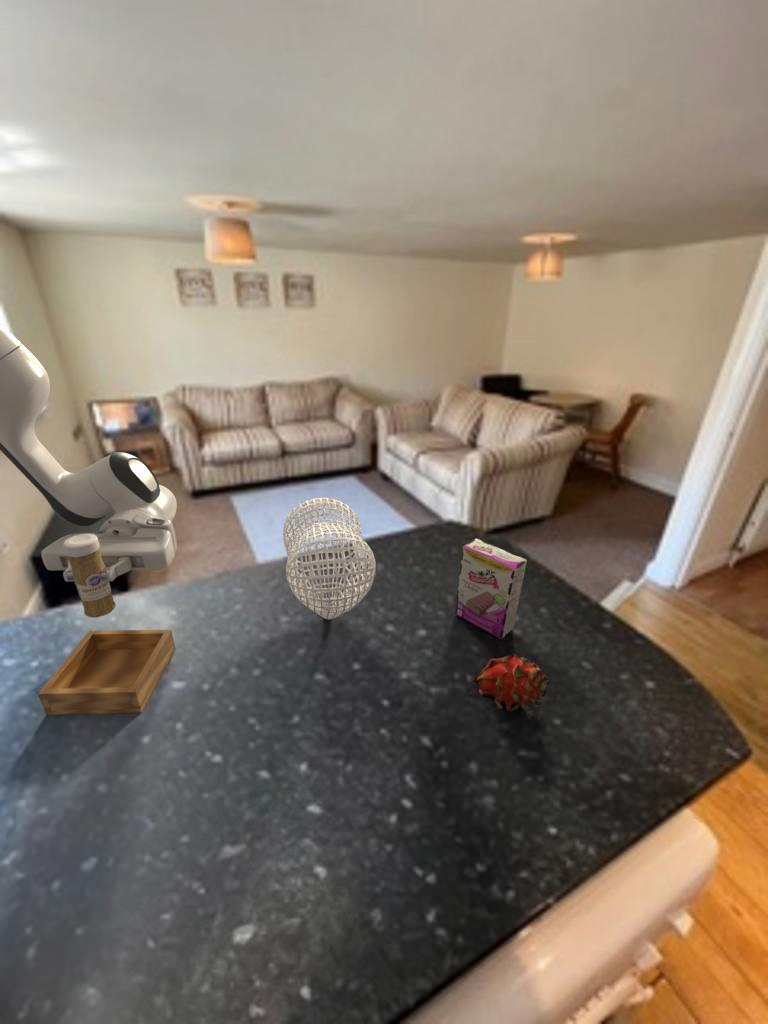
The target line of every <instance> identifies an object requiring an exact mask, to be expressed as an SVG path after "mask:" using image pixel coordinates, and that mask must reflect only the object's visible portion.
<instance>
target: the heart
mask: <svg viewBox="0 0 768 1024" xmlns="http://www.w3.org/2000/svg"><path fill="white" fill-rule="evenodd" d="M326 504H327V505H326ZM326 510H328V513H326ZM320 511H322V513H320ZM333 511H334V513H333ZM314 512H315V514H314ZM339 513H340V515H339ZM308 514H309V515H308ZM298 516H299V517H298ZM345 516H346V517H347V518H346V517H345ZM320 517H323V518H321V519H320ZM326 517H329V518H326ZM314 518H317V520H315V519H314ZM333 518H334V519H333ZM293 520H294V521H293ZM310 520H311V522H309V521H310ZM333 522H335V523H333ZM304 524H305V525H304ZM282 536H283V537H282V540H283V545H284V547H285V551H286V555H287V559H286V565H285V576H286V580H287V584H288V586H289V588H290V591H291V592H292V593H293V595H294V596H295V598H296V599H297V600H298V601H299V602H300V603H301V604H302V605H304V606H305V607H306V608H308V610H311V611H312V612H314V613H315V614H317V615H318V616H320V617H321V618H323V619H325V620H333V619H336V618H338V617H339V616H341V615H342V614H345V613H347V612H349V611H350V610H352V609H353V608H355V607H356V606H357V605H358V604H359V603H360V602H361V601H362V600H363V599H364V598H365V596H366V595H367V594H368V593H369V592H370V590H371V589H372V586H373V584H374V581H375V577H376V572H377V571H376V570H377V567H376V566H377V564H376V563H377V562H376V558H375V555H374V552H373V550H372V549H371V546H369V545H368V543H367V542H366V541H365V540H364V539H363V538H362V526H361V522H360V519H359V516H358V515H357V514H356V512H355V511H354V510H353V508H351V507H350V506H349V505H348V504H346V503H345V502H342V501H341V500H339V499H336V498H331V497H315V498H314V497H313V498H311V499H307V500H304V501H303V502H300V503H299V504H297V505H296V506H295V507H294V508H293V509H292V510H291V511H290V512H289V513H288V515H287V516H286V518H285V520H284V524H283V527H282ZM327 536H329V537H330V538H327ZM333 536H335V537H333ZM317 538H318V540H317ZM312 539H313V541H311V540H312ZM350 544H351V545H350ZM322 545H323V547H322ZM328 545H331V547H330V548H328V547H329V546H328ZM335 545H336V547H335ZM345 545H346V546H345ZM312 546H313V548H314V550H312V549H311V547H312ZM318 546H319V547H318ZM306 548H307V549H306ZM303 551H304V552H303ZM346 552H347V553H348V555H346ZM323 554H324V555H325V559H324V557H323ZM329 554H332V555H331V556H332V558H330V557H329ZM336 554H337V557H336ZM353 554H354V555H353ZM313 555H314V556H315V560H313V558H312V557H313ZM340 555H341V558H340ZM352 555H353V556H352ZM303 557H304V558H303ZM320 557H321V559H320ZM304 559H305V561H304ZM324 565H326V566H324ZM330 565H332V566H330ZM337 565H338V566H337ZM314 566H316V567H315V568H314ZM321 566H322V567H321ZM348 566H349V567H348ZM305 567H306V569H305ZM341 569H342V573H340V571H341ZM321 570H322V571H321ZM325 570H326V574H325ZM330 570H332V574H330ZM299 571H300V572H299ZM315 571H317V575H316V573H315ZM346 571H347V572H346ZM306 573H307V574H308V575H307V574H306ZM349 576H350V577H349ZM339 578H340V580H339ZM348 578H349V579H348ZM322 579H323V582H322ZM326 579H327V582H326ZM330 579H332V580H331V581H330ZM318 580H319V581H318ZM334 580H335V581H334ZM314 581H315V582H314ZM318 582H319V583H318ZM342 582H343V583H342ZM326 585H327V586H326ZM334 585H335V586H334ZM323 586H324V587H323ZM324 593H325V596H324ZM327 595H328V597H327Z"/></svg>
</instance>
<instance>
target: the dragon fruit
mask: <svg viewBox="0 0 768 1024" xmlns="http://www.w3.org/2000/svg"><path fill="white" fill-rule="evenodd" d="M549 681H550V680H549V679H548V677H547V675H546V674H543V670H542V669H541V668H540V667H539V666H538V664H536V663H535V662H532V663H531V661H530V659H528V658H526V657H518V655H517V654H514V653H512V654H510V655H506V656H504V657H499V658H491V659H490V660H489V661H488V663H487V664H486V665H485V667H484V668H483V669H482V670H481V671H480V672H479V674H477V675H476V676H475V677H474V678H473V680H472V681H471V682H472V683H471V684H472V685H471V686H474V685H477V687H478V693H479V694H480V695H481V696H482V697H483V698H484V699H486V700H488V701H493V704H494V706H495V709H497V710H502V709H503V706H502V704H501V703H502V702H504V703H505V708H506V711H510V712H513V711H516V710H518V708H519V707H521V708H522V710H524V711H527V712H528V711H531V710H532V705H530V706H529V708H527V703H528V702H529V703H531V704H533V705H534V706H540V705H541V704H542V702H541V701H540V698H544V697H546V694H547V686H548V685H550V682H549ZM477 687H475V690H476V688H477ZM489 695H490V696H489ZM493 698H494V699H493ZM512 705H513V706H512Z"/></svg>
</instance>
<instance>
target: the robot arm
mask: <svg viewBox="0 0 768 1024" xmlns="http://www.w3.org/2000/svg"><path fill="white" fill-rule="evenodd" d="M50 392H51V383H50V377H49V374H48V372H47V371H46V369H45V367H44V366H43V365H42V363H41V362H40V361H39V360H38V359H37V358H36V356H34V355H33V353H31V351H30V350H29V349H27V348H26V347H25V345H24V344H22V342H20V341H19V340H18V339H17V338H16V337H15V336H14V335H13V333H11V332H10V331H9V330H8V329H6V328H5V327H4V325H2V324H1V323H0V451H1V453H2V454H3V455H4V456H5V457H6V458H7V459H8V460H9V461H10V462H11V463H12V464H13V465H14V466H15V467H16V468H17V469H18V471H20V473H21V474H23V475H24V477H26V479H27V480H28V481H29V482H30V483H31V484H32V485H33V486H34V487H35V488H36V489H37V490H38V492H40V493H41V495H42V496H43V497H44V499H45V500H46V501H47V503H48V504H49V506H50V507H51V509H52V510H53V512H54V513H55V514H56V515H57V516H58V517H59V518H60V519H62V520H63V521H65V522H67V523H69V524H72V525H75V526H80V527H90V526H93V525H95V524H96V523H98V522H99V521H101V520H103V519H104V518H105V517H107V516H108V515H110V514H112V513H114V514H113V515H112V516H111V517H109V518H108V519H107V520H106V521H105V522H104V523H103V524H102V525H101V526H100V528H99V530H98V532H76V533H70V534H67V535H64V536H61V537H60V538H58V539H57V540H54V541H53V542H52V543H50V544H49V545H47V546H46V547H45V548H43V549H42V550H41V553H40V555H41V559H42V562H43V564H44V567H45V568H46V570H48V571H63V573H62V577H63V579H64V581H65V582H75V581H74V577H73V574H72V569H71V566H70V562H69V559H68V557H67V555H66V554H65V551H64V547H63V543H64V541H65V540H67V539H68V538H70V537H73V536H76V535H80V534H93V535H96V536H97V538H98V541H99V545H100V548H99V549H100V553H101V557H102V560H103V563H104V566H105V568H104V569H103V570H102V571H101V573H100V576H101V577H102V581H109V582H113V581H114V580H115V579H116V578H117V577H120V576H122V575H124V574H126V573H128V572H130V571H161V570H164V569H166V568H168V567H169V566H171V564H172V562H173V561H174V558H175V556H176V553H177V551H178V543H177V542H178V541H177V536H176V532H175V528H174V524H173V520H174V518H175V516H176V513H177V508H178V503H177V499H176V496H175V495H174V493H173V492H172V491H171V490H170V489H169V488H167V487H166V486H164V485H161V484H159V481H158V479H157V477H156V475H155V473H154V472H153V471H152V469H151V468H150V467H149V466H148V465H147V464H146V463H145V462H144V461H143V460H141V459H140V458H138V457H136V456H135V455H132V454H130V453H128V452H127V453H126V452H123V451H115V452H112V453H111V454H108V455H107V456H105V457H103V458H101V459H99V460H97V461H95V462H94V463H92V464H91V465H89V466H87V467H84V468H82V469H81V470H79V471H77V472H69V471H67V470H66V469H64V468H63V467H62V466H61V464H60V463H59V462H58V460H56V458H55V457H54V456H53V455H52V454H51V453H50V452H49V451H48V450H47V448H46V447H45V446H44V445H43V444H42V443H41V441H40V439H38V437H37V434H36V431H35V425H36V421H37V419H38V418H39V416H40V414H41V412H42V411H43V409H44V408H45V406H46V404H47V402H48V400H49V397H50Z"/></svg>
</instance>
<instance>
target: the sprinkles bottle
mask: <svg viewBox="0 0 768 1024" xmlns="http://www.w3.org/2000/svg"><path fill="white" fill-rule="evenodd" d="M63 547H64V551H65V554H66V555H67V557H68V559H69V562H70V566H71V569H72V574H73V577H74V581H73V582H74V585H75V587H76V590H77V593H78V596H79V598H80V600H81V603H82V606H83V610H84V615H85V616H86V617H87V618H100V617H104V616H107V615H108V614H110V613H111V612H113V611H114V610H115V608H116V602H115V600H114V597H113V593H112V588H111V587H112V586H111V584H110V581H102V577H101V576H100V573H101V571H102V570H103V569H104V568H105V566H104V563H103V560H102V557H101V553H100V549H99V548H100V545H99V541H98V538H97V536H96V535H93V534H80V535H76V536H73V537H70V538H68V539H67V540H65V541H64V543H63Z"/></svg>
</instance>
